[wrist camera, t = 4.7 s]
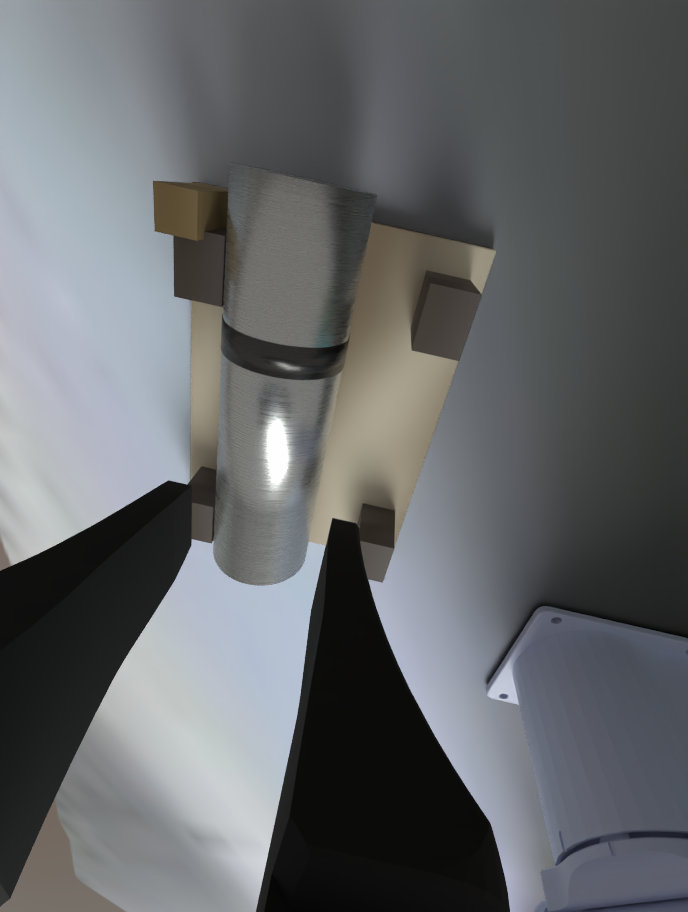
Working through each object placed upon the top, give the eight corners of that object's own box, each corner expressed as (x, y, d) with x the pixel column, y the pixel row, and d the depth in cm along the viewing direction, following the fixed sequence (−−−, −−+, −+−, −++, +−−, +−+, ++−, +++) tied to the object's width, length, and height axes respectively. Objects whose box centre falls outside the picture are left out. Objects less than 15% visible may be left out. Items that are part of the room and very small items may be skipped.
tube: (396, 198, 13) (278, 171, 14) (343, 189, 10) (194, 155, 11) (321, 540, 20) (247, 507, 21) (277, 601, 17) (191, 558, 18)
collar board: (493, 249, 15) (516, 263, 12) (390, 551, 22) (388, 609, 19) (200, 182, 15) (145, 179, 12) (194, 506, 22) (160, 557, 19)
